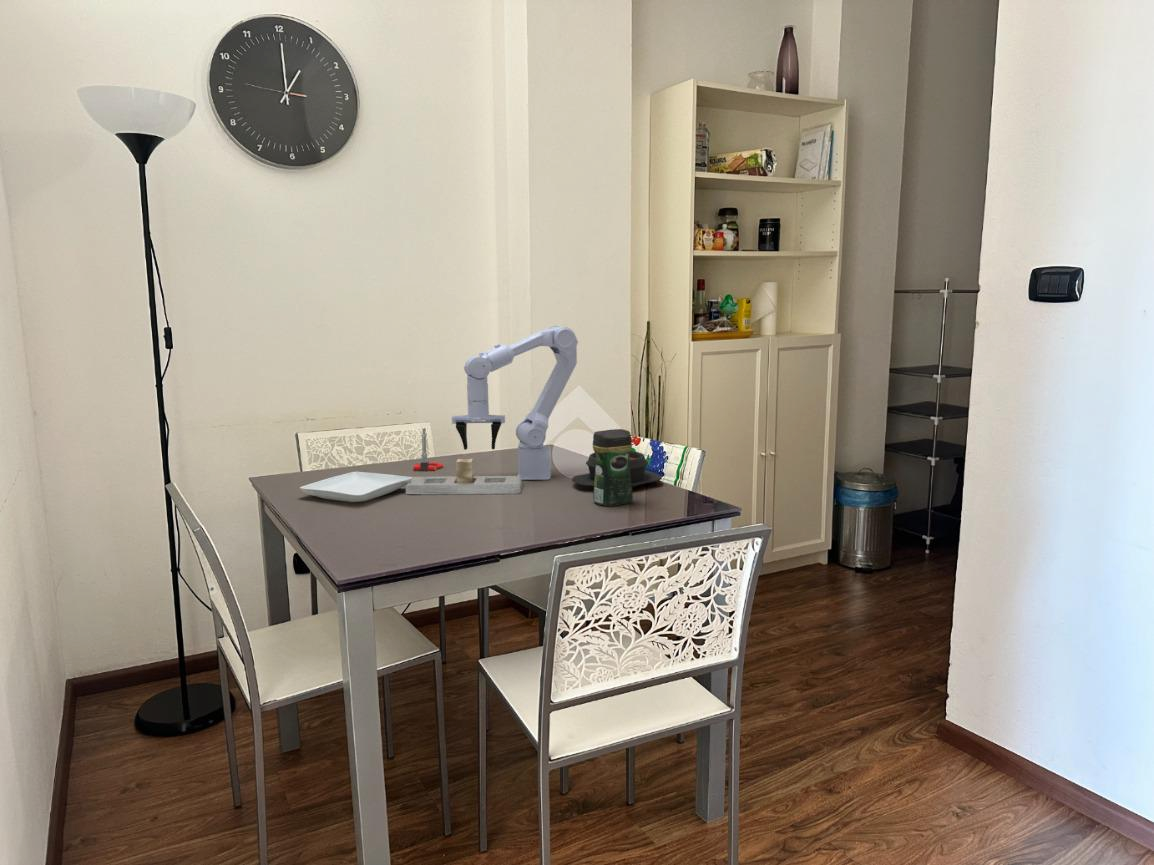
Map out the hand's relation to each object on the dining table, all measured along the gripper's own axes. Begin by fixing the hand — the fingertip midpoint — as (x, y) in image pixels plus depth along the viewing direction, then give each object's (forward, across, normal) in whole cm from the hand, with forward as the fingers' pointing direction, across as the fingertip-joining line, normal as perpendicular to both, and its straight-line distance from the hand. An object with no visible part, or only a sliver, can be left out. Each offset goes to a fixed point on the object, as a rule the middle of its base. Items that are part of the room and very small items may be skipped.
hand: (479, 448), depth 228 cm
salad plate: (+10, -31, -13) cm, 35 cm away
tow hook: (+10, -18, +19) cm, 28 cm away
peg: (+9, -3, -9) cm, 13 cm away
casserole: (+10, +38, -5) cm, 40 cm away
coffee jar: (+10, +36, -24) cm, 44 cm away
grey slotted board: (+9, -3, -9) cm, 13 cm away
